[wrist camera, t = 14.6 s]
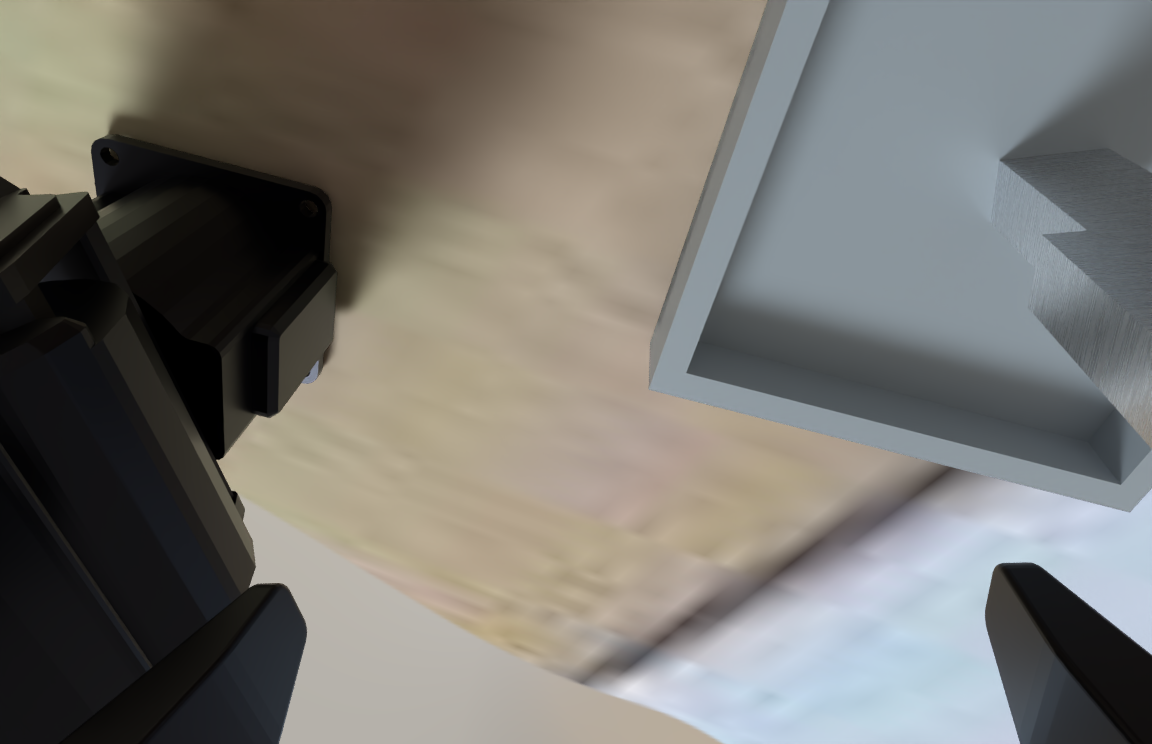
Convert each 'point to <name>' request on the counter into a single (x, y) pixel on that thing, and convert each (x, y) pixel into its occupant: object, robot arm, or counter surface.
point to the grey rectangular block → (1088, 264)
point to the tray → (907, 234)
